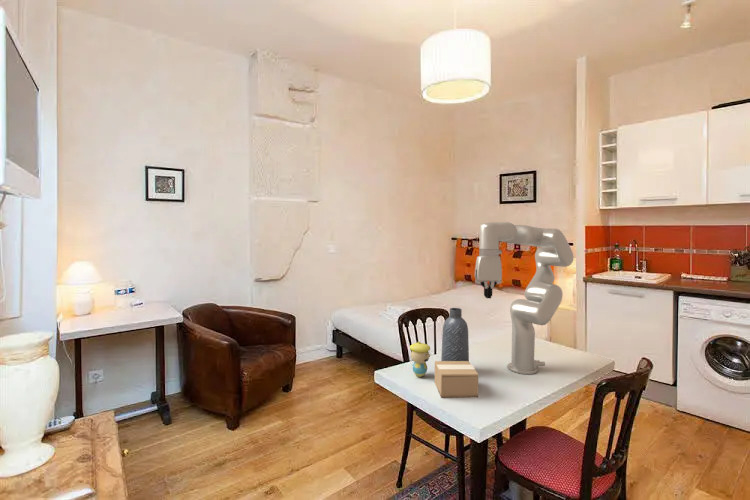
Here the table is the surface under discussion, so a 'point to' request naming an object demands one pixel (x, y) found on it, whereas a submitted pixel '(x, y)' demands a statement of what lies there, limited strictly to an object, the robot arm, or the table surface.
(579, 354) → the table surface
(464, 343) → the vase
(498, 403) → the table surface
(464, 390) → the box
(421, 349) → the toy
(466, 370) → the lid
